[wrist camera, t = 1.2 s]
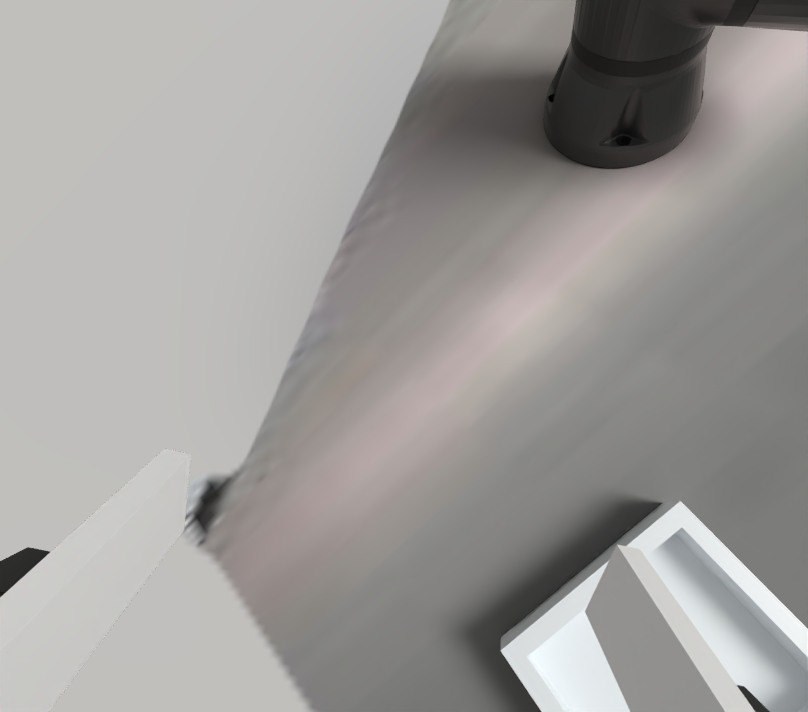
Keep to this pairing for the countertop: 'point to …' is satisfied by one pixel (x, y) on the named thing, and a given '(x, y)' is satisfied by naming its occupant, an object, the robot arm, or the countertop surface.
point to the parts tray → (701, 601)
